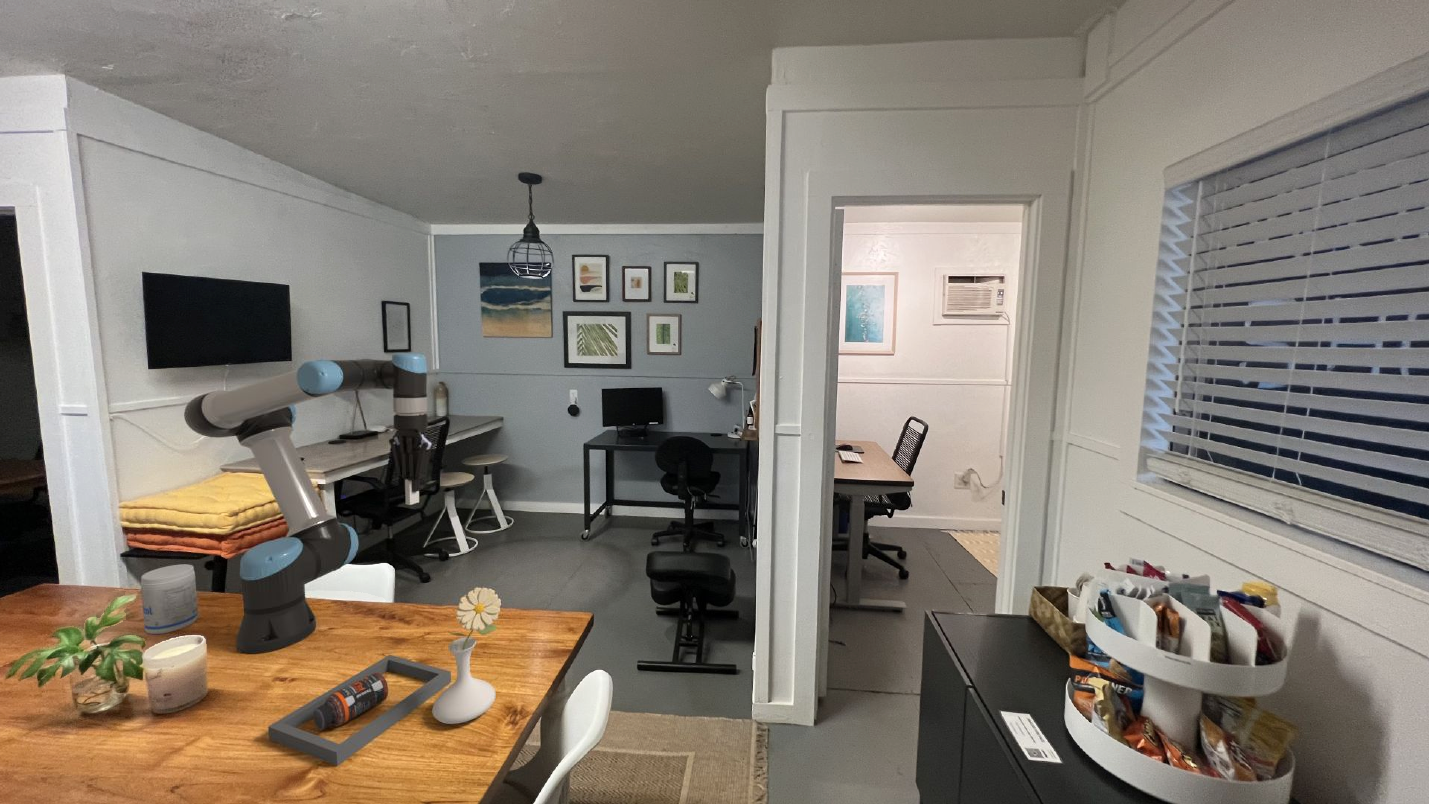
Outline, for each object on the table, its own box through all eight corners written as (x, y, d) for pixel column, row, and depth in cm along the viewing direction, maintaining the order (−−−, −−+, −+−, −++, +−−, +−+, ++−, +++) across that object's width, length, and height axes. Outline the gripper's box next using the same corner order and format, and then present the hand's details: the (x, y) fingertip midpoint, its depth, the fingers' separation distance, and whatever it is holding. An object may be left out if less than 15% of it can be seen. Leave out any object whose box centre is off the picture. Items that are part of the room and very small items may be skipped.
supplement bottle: (386, 671, 104) (323, 705, 94) (392, 701, 104) (329, 737, 94) (370, 670, 106) (307, 702, 96) (375, 698, 106) (313, 733, 96)
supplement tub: (136, 631, 130) (131, 575, 128) (185, 613, 139) (180, 561, 137) (158, 639, 127) (152, 581, 125) (207, 620, 135) (202, 566, 134)
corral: (269, 739, 94) (268, 726, 94) (390, 665, 117) (389, 654, 116) (337, 766, 88) (336, 752, 88) (451, 682, 111) (450, 671, 111)
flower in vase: (425, 735, 95) (419, 607, 93) (440, 696, 106) (435, 580, 104) (500, 722, 99) (496, 598, 97) (507, 685, 110) (504, 573, 107)
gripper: (442, 413, 133) (443, 502, 135) (404, 410, 137) (406, 496, 139) (417, 416, 126) (418, 510, 128) (378, 413, 130) (380, 503, 132)
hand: (412, 503), depth 134 cm, fingers closed
